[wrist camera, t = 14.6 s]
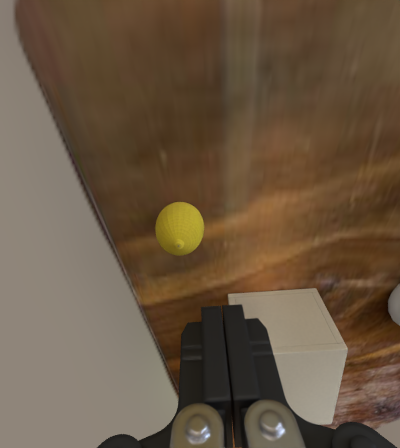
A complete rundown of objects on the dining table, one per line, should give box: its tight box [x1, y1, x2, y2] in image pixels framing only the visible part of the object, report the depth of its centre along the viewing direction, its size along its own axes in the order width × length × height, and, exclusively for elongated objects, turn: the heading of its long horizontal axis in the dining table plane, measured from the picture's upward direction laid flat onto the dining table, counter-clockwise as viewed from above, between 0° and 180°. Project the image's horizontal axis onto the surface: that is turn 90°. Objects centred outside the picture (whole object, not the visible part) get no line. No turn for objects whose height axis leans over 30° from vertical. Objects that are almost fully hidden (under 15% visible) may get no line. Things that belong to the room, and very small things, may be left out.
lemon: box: [155, 202, 204, 255], centre depth 36 cm, size 6×6×8 cm
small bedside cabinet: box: [228, 288, 348, 425], centre depth 44 cm, size 15×13×11 cm
